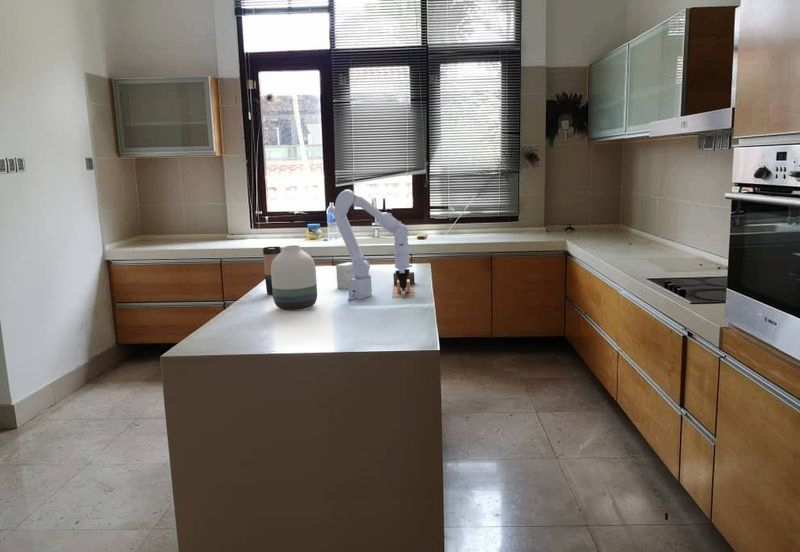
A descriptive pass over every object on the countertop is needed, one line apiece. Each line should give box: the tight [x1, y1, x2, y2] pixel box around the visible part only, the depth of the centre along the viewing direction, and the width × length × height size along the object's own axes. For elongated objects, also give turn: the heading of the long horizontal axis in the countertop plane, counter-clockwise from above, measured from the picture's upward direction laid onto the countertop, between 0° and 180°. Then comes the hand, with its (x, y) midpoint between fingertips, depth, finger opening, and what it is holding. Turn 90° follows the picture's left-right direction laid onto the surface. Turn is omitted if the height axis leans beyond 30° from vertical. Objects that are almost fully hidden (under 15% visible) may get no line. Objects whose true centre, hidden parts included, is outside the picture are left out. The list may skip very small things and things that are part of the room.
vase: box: [271, 244, 318, 311], centre depth 246 cm, size 17×17×24 cm
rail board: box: [391, 271, 416, 300], centre depth 267 cm, size 32×9×6 cm, turn 179°
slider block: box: [397, 279, 410, 293], centre depth 264 cm, size 6×5×4 cm
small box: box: [335, 261, 355, 290], centre depth 285 cm, size 8×6×10 cm
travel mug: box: [262, 246, 282, 296], centre depth 278 cm, size 8×8×20 cm
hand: (403, 287), depth 260 cm, fingers closed
